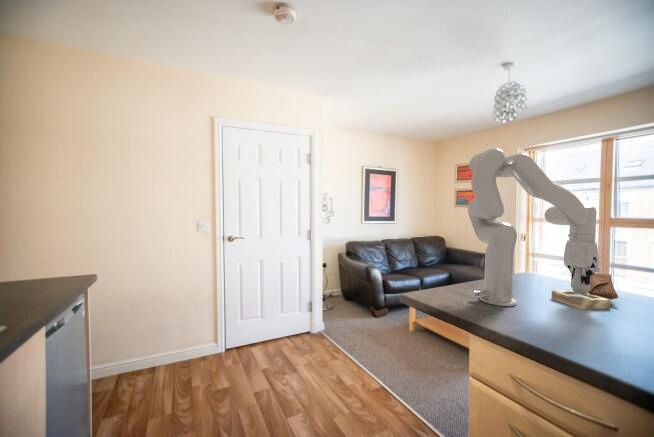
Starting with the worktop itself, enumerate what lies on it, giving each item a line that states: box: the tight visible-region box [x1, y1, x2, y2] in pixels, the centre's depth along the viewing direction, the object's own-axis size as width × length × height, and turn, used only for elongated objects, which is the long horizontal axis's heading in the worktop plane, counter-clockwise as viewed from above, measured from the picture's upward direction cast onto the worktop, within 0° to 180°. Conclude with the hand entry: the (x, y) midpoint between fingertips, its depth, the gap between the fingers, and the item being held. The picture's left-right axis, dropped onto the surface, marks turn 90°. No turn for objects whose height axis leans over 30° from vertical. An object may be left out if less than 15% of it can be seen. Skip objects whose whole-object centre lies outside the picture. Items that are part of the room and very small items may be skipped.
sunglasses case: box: [588, 272, 619, 301], centre depth 115 cm, size 18×7×7 cm
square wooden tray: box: [551, 289, 611, 310], centre depth 109 cm, size 12×12×3 cm
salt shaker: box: [570, 267, 591, 294], centre depth 109 cm, size 6×6×13 cm
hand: (580, 284), depth 109 cm, fingers closed on salt shaker, 3 cm apart
